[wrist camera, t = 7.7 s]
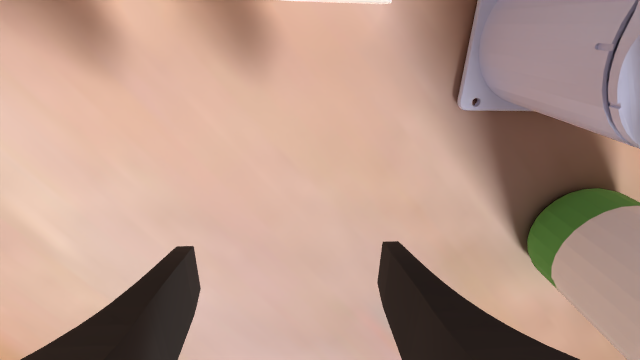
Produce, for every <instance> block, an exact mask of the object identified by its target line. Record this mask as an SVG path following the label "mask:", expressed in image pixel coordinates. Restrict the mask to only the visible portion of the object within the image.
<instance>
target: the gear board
mask: <svg viewBox="0 0 640 360" xmlns="http://www.w3.org/2000/svg"><path fill="white" fill-rule="evenodd" d="M281 1H309V2H336V3H364V4H387V3H392V0H281Z"/></svg>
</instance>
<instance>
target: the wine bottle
mask: <svg viewBox="0 0 640 360" xmlns="http://www.w3.org/2000/svg"><path fill="white" fill-rule="evenodd" d="M527 246H528V253H529V256H530V258H531V261H532V263H533V264H534V266H535V267H536V268H537V270H538V271H539V272H540V273H541V274H542V275H544V276H545V277H546V278H547V279H548V280H549V281H550V282H551V283H552V284H553V285H554V286H555V287H556V288H557V290H558V291H559V292H560V293H561V294H562V295H563V296H564V297H565V298H566V299H567V300H568V301H569V302H570V303H571V304H572V305H573V306H574V307H575V308H576V309H577V310H578V311H579V312H580V313H581V314H582V315H583V316H584V317H585V318H586V319H587V320H588V321H589V322H590V323H591V324H592V325H593V326H594V327H595V328H596V329H597V330H598V331H599V332H600V333H601V334H602V335H603V336H604V337H605V338H606V339H607V340H608V341H609V342H610V343H611V344H612V345H613V346H614V347H615V348H616V349H617V350H618V351H619V352H620V353H621V354H622V355H623V356H624V357H625V358H626V359H627V360H640V203H639V202H637V201H635V200H634V199H632V198H630V197H628V196H626V195H624V194H621V193H619V192H616V191H611V190H606V189H601V188H594V189H582V190H579V191H575V192H572V193H569V194H567V195H565V196H563V197H561V198H559V199H557V200H555V201H554V202H553V203H551V204H550V205H549V206H548V207H546V208H545V209H544V210H543V211H542V212H541V214H540V215H539V216H538V217H537V218H536V220H535V222H534V223H533V225H532V227H531V229H530V232H529V235H528V239H527Z"/></svg>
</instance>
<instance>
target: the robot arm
mask: <svg viewBox="0 0 640 360" xmlns="http://www.w3.org/2000/svg"><path fill="white" fill-rule="evenodd" d="M475 98H477V103H476V104H475V105H472V101H473V100H474V99H475ZM457 104H458V107H459V108H461V109H463V110H476V111H536V112H538V113H541V114H544V115H547V116H550V117H552V118H555V119H558V120H561V121H564V122H566V123H569V124H572V125H575V126H577V127H580V128H583V129H586V130H589V131H591V132H594V133H597V134H600V135H603V136H605V137H608V138H611V139H614V140H617V141H619V142H622V143H625V144H628V145H631V146H633V147H636V148H639V149H640V0H478V2H477V7H476V11H475V16H474V21H473V26H472V31H471V36H470V41H469V46H468V51H467V56H466V61H465V66H464V71H463V76H462V81H461V86H460V91H459V96H458V101H457ZM377 283H378V287H379V292H380V297H381V301H382V305H383V308H384V311H385V314H386V317H387V320H388V323H389V325H390V328H391V331H392V334H393V336H394V339H395V342H396V344H397V347H398V350H399V353H400V355H401V358H402V360H580V359H577V358H575V357H573V356H570V355H568V354H566V353H563V352H561V351H559V350H556V349H554V348H552V347H549V346H547V345H545V344H543V343H541V342H539V341H537V340H535V339H533V338H531V337H529V336H527V335H525V334H523V333H521V332H519V331H517V330H515V329H513V328H511V327H510V326H508V325H506V324H504V323H503V322H501V321H499V320H497V319H496V318H494V317H492V316H491V315H489V314H487V313H486V312H484V311H483V310H481V309H479V308H478V307H477V306H475V305H474V304H472V303H471V302H469V301H468V300H466V299H465V298H463V297H462V296H461V295H459V294H458V293H457V292H455V291H454V290H453V289H451V288H450V287H449V286H448V285H446V284H445V283H444V282H443V281H441V280H440V279H439V278H438V277H437V276H435V275H434V274H433V273H432V272H431V271H430V270H428V269H427V268H426V267H425V266H424V265H423V264H422V263H421V262H420V261H419V260H417V259H416V258H415V257H414V256H413V255H412V254H411V253H410V252H409V251H408V250H407V249H406V248H405V247H404V246H403V245H401V244H400V243H399V242H398V241H397V242H383V244H382V252H381V259H380V267H379V275H378V282H377ZM200 289H201V288H200V282H199V276H198V270H197V264H196V258H195V252H194V246H181V247H176V248H175V249H173V250H172V251H171V252H170V253H169V254H168V255H167V256H166V257H165V258H163V259H162V260H161V261H160V262H159V263H158V264H157V265H156V266H155V267H154V268H152V269H151V270H150V271H149V272H148V273H147V274H146V275H144V276H143V277H142V278H141V279H140V280H139V281H138V282H136V283H135V284H134V285H133V286H132V287H130V288H129V289H128V290H127V291H125V292H124V293H123V294H122V295H120V296H119V297H118V298H117V299H115V300H114V301H113V302H112V303H110V304H109V305H108V306H106V307H105V308H103V309H102V310H101V311H99V312H98V313H96V314H95V315H94V316H92V317H91V318H89V319H88V320H86V321H85V322H83V323H82V324H80V325H79V326H77V327H76V328H74V329H72V330H71V331H69V332H67V333H66V334H64V335H62V336H61V337H59V338H58V339H56V340H54V341H53V342H51V343H49V344H48V345H46V346H44V347H43V348H41V349H39V350H37V351H35V352H33V353H32V354H30V355H28V356H26V357H24V358H23V359H21V360H178V357H179V355H180V352H181V349H182V347H183V344H184V341H185V339H186V336H187V333H188V331H189V328H190V325H191V323H192V320H193V317H194V314H195V310H196V306H197V302H198V298H199V293H200Z"/></svg>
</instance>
